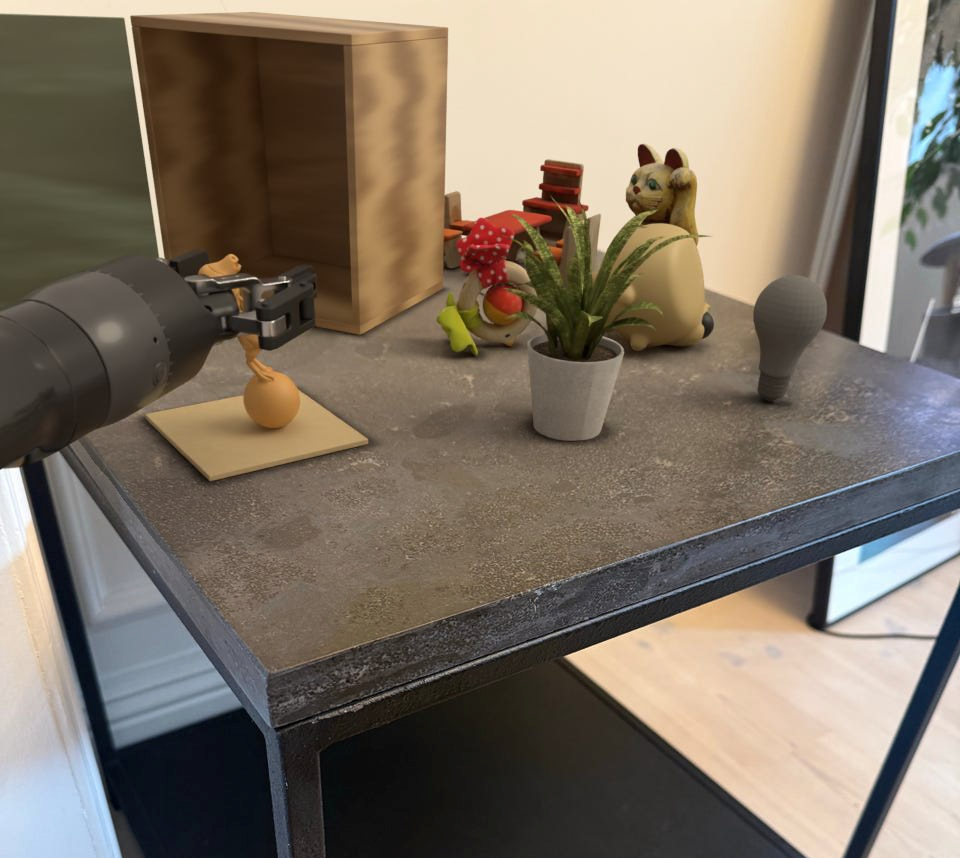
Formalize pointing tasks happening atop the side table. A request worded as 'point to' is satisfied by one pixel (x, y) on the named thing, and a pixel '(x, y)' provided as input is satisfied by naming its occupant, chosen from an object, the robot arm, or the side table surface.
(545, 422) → the house plant
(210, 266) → the figurine
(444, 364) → the side table surface
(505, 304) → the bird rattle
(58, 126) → the dark green flat panel
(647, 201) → the decorative figurine
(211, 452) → the mat
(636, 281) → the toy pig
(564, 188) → the dollhouse furniture set
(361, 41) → the cupboard
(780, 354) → the light bulb
